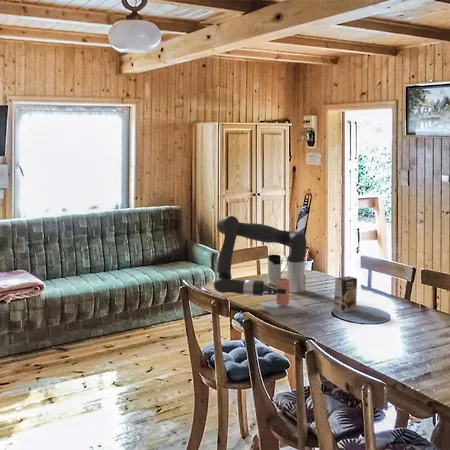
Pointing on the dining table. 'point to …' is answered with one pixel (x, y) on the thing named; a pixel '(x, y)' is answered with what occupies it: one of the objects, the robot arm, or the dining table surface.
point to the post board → (283, 308)
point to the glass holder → (274, 267)
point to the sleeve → (283, 298)
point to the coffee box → (345, 294)
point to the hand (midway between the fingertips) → (286, 289)
